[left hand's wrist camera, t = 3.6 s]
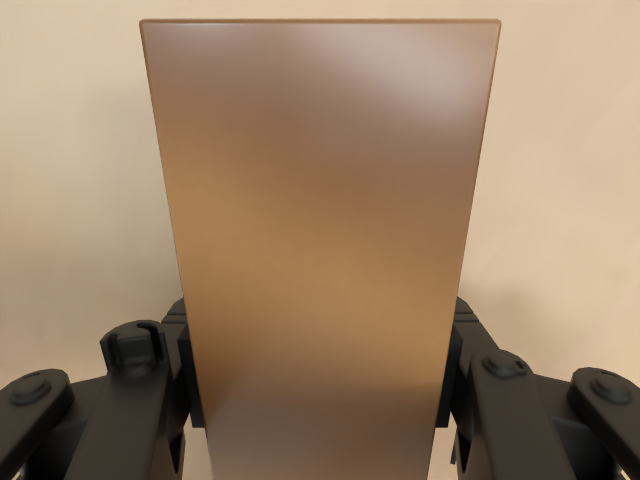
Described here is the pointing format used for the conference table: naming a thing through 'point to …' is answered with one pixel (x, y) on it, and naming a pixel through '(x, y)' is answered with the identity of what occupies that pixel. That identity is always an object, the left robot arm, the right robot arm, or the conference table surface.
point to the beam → (320, 229)
